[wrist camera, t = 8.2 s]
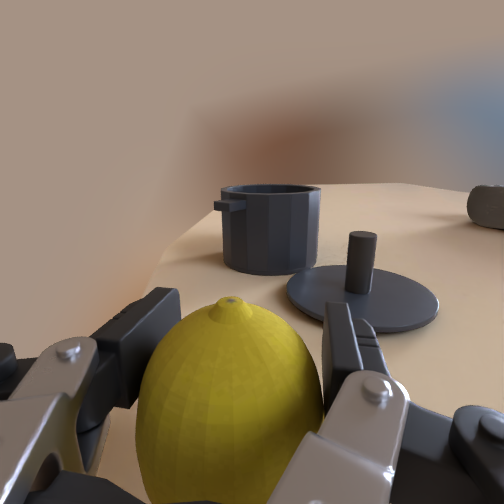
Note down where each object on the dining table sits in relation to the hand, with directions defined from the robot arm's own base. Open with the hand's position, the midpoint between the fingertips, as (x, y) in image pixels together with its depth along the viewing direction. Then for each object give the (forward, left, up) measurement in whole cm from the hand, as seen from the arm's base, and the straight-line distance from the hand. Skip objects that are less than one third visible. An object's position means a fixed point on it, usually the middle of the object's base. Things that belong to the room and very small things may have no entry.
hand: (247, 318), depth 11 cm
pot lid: (-3, +20, -7) cm, 21 cm away
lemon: (+1, -2, -6) cm, 7 cm away
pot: (-17, +25, -8) cm, 31 cm away
